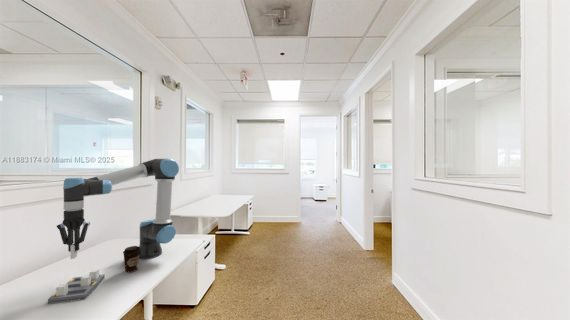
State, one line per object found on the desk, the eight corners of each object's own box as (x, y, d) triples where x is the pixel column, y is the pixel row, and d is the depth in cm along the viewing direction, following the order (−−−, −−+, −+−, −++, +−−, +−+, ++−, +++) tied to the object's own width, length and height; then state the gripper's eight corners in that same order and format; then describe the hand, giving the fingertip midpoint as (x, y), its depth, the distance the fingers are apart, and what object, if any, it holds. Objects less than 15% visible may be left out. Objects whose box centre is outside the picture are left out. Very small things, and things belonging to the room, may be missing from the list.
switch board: (104, 277, 133) (104, 273, 133) (85, 298, 113) (85, 293, 113) (73, 281, 129) (73, 277, 129) (47, 303, 109) (47, 298, 109)
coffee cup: (143, 268, 145) (143, 246, 145) (130, 274, 137) (130, 251, 137) (132, 266, 148) (132, 244, 148) (119, 272, 140) (119, 249, 140)
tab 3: (98, 277, 130) (98, 269, 131) (96, 280, 128) (96, 271, 128) (92, 278, 130) (92, 269, 130) (89, 281, 127) (89, 272, 127)
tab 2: (90, 284, 124) (90, 275, 124) (87, 287, 121) (87, 277, 121) (83, 285, 123) (83, 275, 123) (80, 287, 120) (80, 278, 120)
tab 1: (67, 293, 115) (68, 283, 115) (64, 296, 112) (64, 286, 112) (60, 294, 114) (60, 284, 114) (56, 297, 111) (56, 287, 111)
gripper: (93, 207, 126) (93, 253, 126) (62, 208, 122) (62, 256, 122) (86, 210, 119) (85, 259, 119) (52, 211, 115) (52, 262, 115)
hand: (73, 257), depth 120 cm, fingers closed
